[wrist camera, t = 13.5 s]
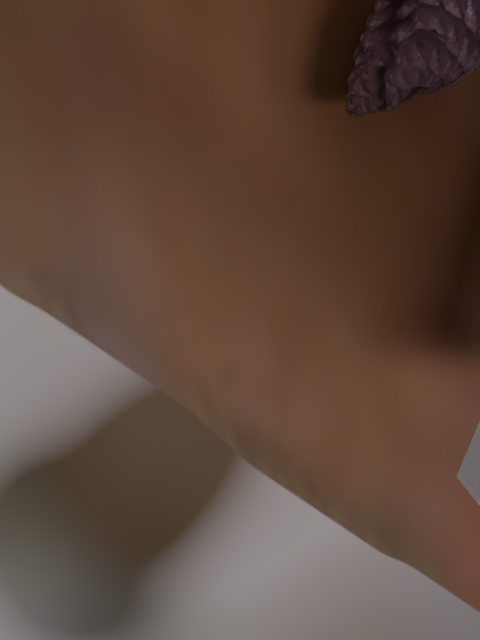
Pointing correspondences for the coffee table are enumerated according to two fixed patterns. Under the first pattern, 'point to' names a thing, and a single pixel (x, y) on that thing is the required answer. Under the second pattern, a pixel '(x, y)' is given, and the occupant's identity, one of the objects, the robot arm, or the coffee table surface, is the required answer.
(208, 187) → the coffee table surface
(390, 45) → the pine cone
